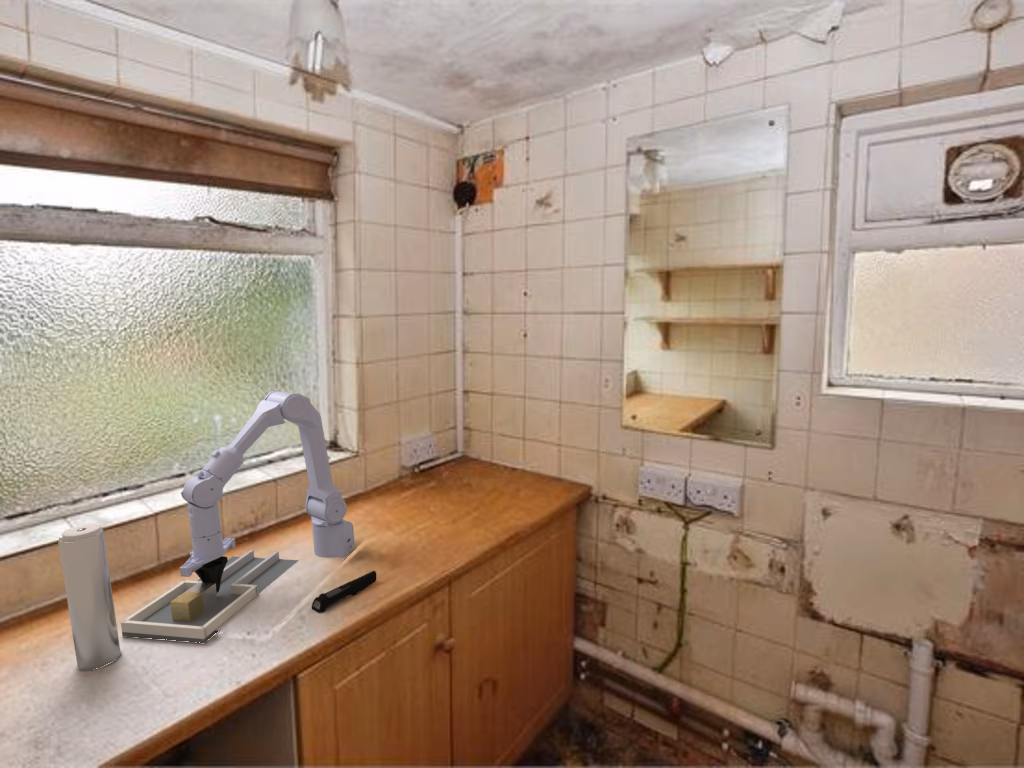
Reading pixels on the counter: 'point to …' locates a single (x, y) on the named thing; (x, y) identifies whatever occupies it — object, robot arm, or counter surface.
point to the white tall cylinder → (89, 596)
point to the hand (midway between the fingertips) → (213, 592)
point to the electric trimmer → (343, 592)
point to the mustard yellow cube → (187, 606)
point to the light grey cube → (205, 593)
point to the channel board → (235, 591)
